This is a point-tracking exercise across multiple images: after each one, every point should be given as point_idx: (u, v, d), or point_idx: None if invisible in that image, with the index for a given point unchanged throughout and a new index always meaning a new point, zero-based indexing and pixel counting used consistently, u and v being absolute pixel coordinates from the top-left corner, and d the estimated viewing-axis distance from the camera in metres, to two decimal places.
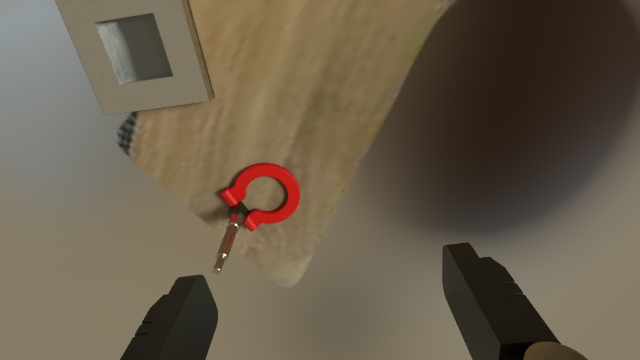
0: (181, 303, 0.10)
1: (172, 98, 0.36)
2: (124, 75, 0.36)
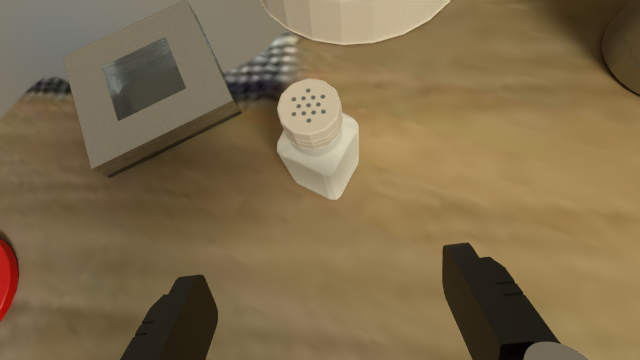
0: (181, 303, 0.10)
1: (90, 125, 0.27)
2: (121, 74, 0.30)
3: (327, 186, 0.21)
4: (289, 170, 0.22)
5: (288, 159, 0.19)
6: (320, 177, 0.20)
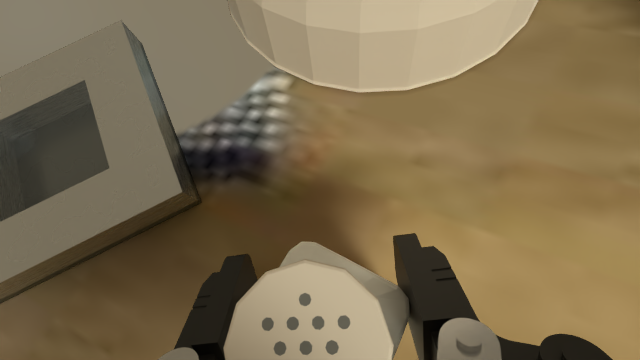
0: (235, 278, 0.10)
1: None
2: (24, 134, 0.20)
3: None
4: None
5: None
6: None
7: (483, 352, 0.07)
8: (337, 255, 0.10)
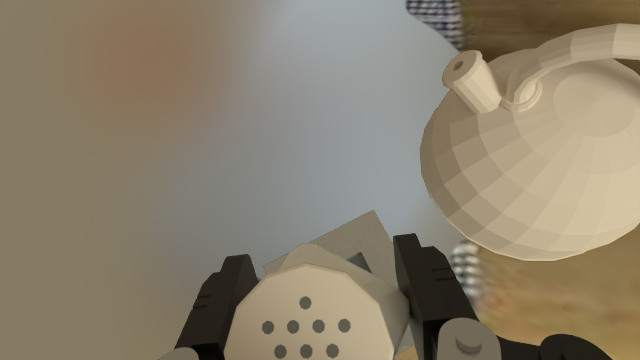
0: (235, 278, 0.10)
1: None
2: None
3: None
4: None
5: None
6: None
7: (483, 352, 0.07)
8: (337, 257, 0.10)
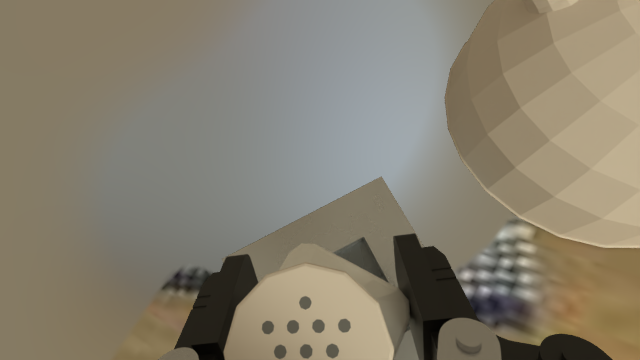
0: (235, 278, 0.10)
1: None
2: None
3: None
4: None
5: None
6: None
7: (483, 352, 0.07)
8: (337, 257, 0.10)
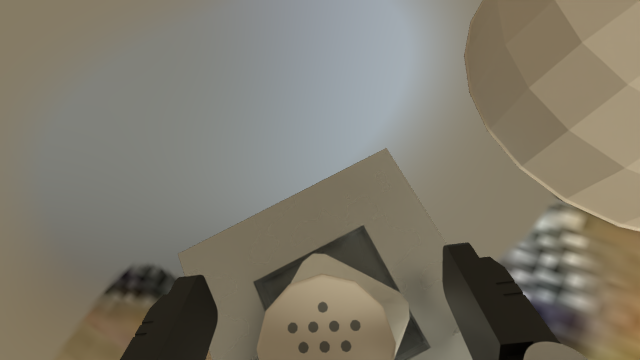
0: (181, 303, 0.10)
1: None
2: (273, 276, 0.17)
3: None
4: None
5: None
6: None
7: None
8: (345, 265, 0.11)
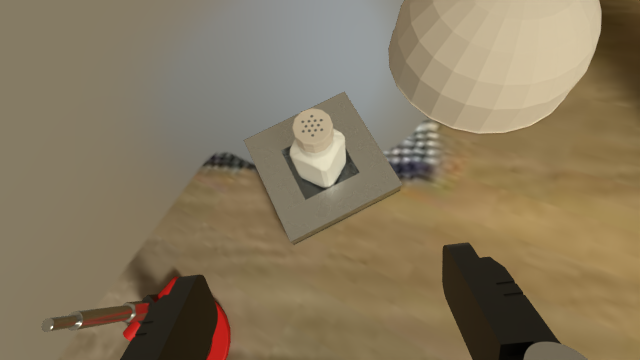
0: (181, 303, 0.10)
1: (281, 202, 0.32)
2: (289, 153, 0.36)
3: (323, 179, 0.30)
4: (297, 168, 0.31)
5: (297, 160, 0.29)
6: (319, 172, 0.29)
7: None
8: None
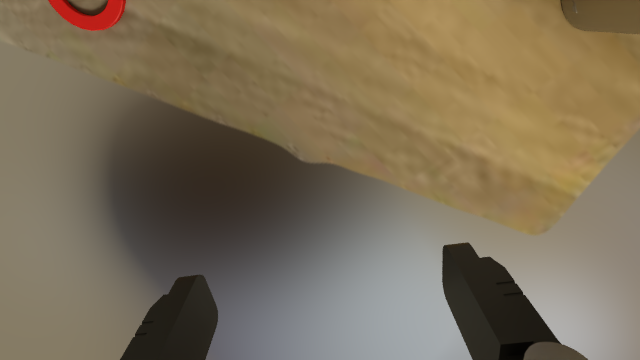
0: (181, 303, 0.10)
1: None
2: None
3: None
4: None
5: None
6: None
7: None
8: None
